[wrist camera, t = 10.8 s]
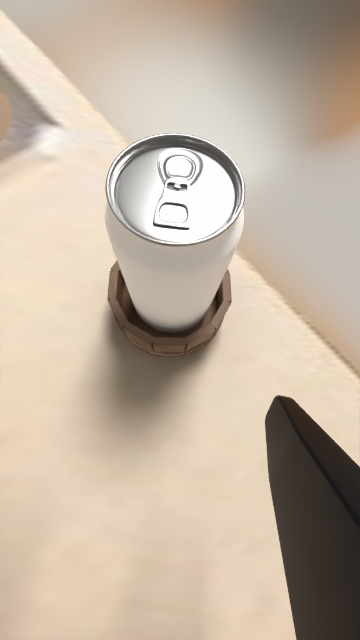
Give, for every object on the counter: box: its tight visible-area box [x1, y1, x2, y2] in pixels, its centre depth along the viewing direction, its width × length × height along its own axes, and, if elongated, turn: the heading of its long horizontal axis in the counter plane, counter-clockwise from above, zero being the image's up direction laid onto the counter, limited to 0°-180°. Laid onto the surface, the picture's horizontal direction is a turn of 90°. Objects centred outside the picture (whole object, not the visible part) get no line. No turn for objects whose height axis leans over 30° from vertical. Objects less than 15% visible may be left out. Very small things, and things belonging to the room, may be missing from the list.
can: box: [105, 133, 245, 333], centre depth 16 cm, size 6×6×12 cm
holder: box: [107, 261, 232, 357], centre depth 21 cm, size 10×10×4 cm
